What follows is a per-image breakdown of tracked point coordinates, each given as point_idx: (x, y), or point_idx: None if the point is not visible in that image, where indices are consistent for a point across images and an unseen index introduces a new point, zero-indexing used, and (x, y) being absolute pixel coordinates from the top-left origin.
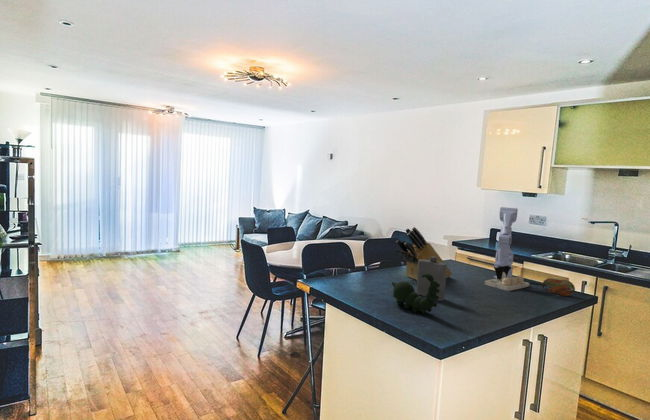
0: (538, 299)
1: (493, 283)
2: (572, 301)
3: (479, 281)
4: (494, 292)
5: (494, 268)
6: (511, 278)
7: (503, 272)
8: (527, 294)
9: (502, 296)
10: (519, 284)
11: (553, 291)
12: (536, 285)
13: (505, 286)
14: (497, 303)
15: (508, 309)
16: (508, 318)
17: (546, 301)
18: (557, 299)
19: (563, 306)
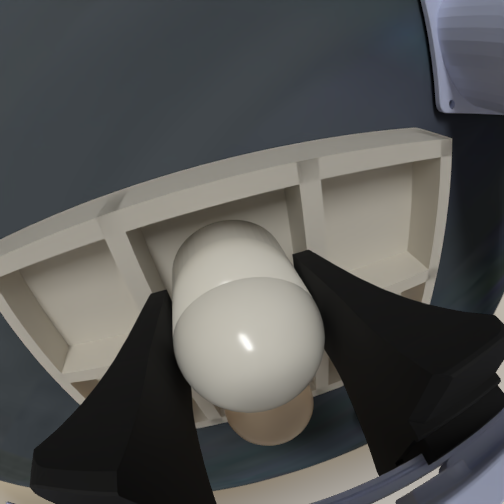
0: (206, 465)
1: (37, 356)
2: (326, 456)
3: (41, 60)
4: (21, 394)
5: (48, 450)
6: (240, 436)
7: (257, 411)
8: (220, 435)
9: (44, 432)
10: None
11: None
12: (475, 284)
13: None
14: (4, 450)
15: (25, 470)
16: (12, 478)
17: (219, 472)
18: (297, 455)
19: (232, 486)
